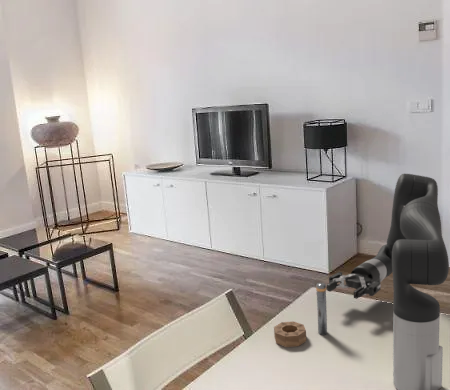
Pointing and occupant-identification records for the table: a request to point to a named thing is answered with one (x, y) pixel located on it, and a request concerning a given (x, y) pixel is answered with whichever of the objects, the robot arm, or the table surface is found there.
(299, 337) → the bead
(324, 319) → the banded metal pin
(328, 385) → the table surface
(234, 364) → the table surface
